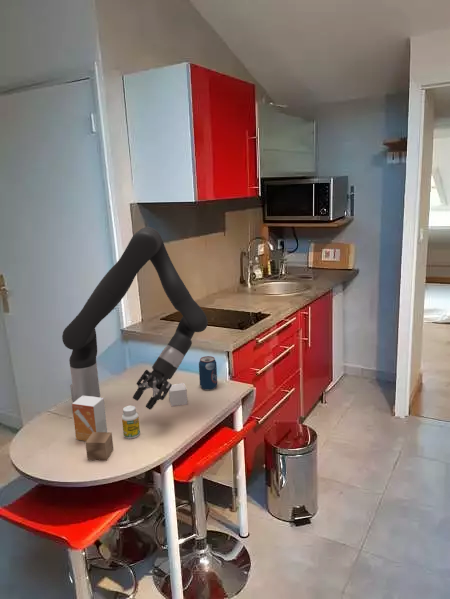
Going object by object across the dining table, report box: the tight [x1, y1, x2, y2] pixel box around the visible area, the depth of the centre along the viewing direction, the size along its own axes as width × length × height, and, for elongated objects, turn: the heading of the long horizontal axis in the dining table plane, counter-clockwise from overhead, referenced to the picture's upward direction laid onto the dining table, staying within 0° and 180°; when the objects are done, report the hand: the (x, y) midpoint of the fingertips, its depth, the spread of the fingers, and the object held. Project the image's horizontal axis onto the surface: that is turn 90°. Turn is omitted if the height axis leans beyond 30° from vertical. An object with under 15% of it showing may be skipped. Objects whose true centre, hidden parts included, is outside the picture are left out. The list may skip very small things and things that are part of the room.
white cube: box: [168, 382, 188, 407], centre depth 178 cm, size 6×6×6 cm
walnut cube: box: [84, 431, 114, 462], centre depth 146 cm, size 6×6×6 cm
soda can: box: [198, 355, 218, 391], centre depth 189 cm, size 7×7×12 cm
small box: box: [71, 396, 108, 442], centre depth 155 cm, size 8×6×13 cm
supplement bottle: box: [121, 405, 141, 440], centre depth 156 cm, size 5×5×10 cm
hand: (141, 403), depth 157 cm, fingers open, 8 cm apart
